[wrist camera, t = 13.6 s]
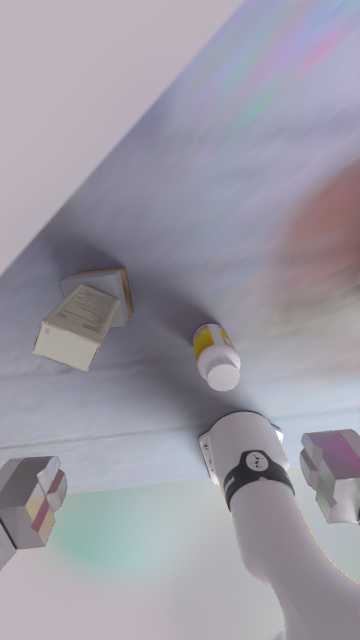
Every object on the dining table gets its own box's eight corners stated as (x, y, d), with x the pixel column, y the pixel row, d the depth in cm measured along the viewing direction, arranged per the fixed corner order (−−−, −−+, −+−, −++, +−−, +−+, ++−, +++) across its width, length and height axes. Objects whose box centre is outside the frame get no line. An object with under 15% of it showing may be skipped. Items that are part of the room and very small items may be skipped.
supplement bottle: (190, 352, 48) (196, 395, 36) (194, 320, 45) (203, 355, 33) (224, 355, 48) (241, 399, 36) (230, 324, 46) (251, 359, 34)
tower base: (133, 311, 45) (130, 318, 41) (90, 315, 45) (83, 323, 42) (125, 266, 42) (121, 270, 39) (78, 271, 42) (70, 276, 39)
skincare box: (71, 307, 37) (27, 352, 26) (81, 282, 35) (37, 318, 24) (112, 325, 38) (86, 375, 27) (123, 301, 37) (100, 344, 25)
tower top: (129, 317, 41) (125, 326, 38) (82, 323, 42) (74, 331, 38) (119, 270, 39) (114, 274, 35) (68, 276, 39) (59, 281, 35)
